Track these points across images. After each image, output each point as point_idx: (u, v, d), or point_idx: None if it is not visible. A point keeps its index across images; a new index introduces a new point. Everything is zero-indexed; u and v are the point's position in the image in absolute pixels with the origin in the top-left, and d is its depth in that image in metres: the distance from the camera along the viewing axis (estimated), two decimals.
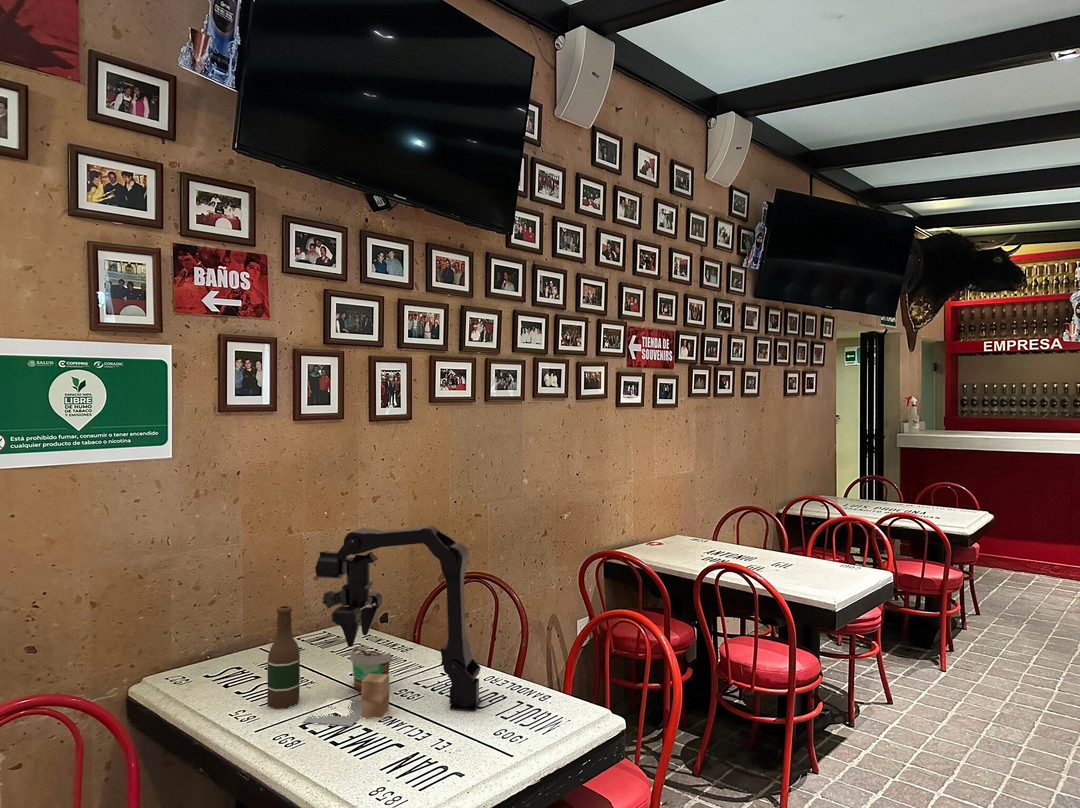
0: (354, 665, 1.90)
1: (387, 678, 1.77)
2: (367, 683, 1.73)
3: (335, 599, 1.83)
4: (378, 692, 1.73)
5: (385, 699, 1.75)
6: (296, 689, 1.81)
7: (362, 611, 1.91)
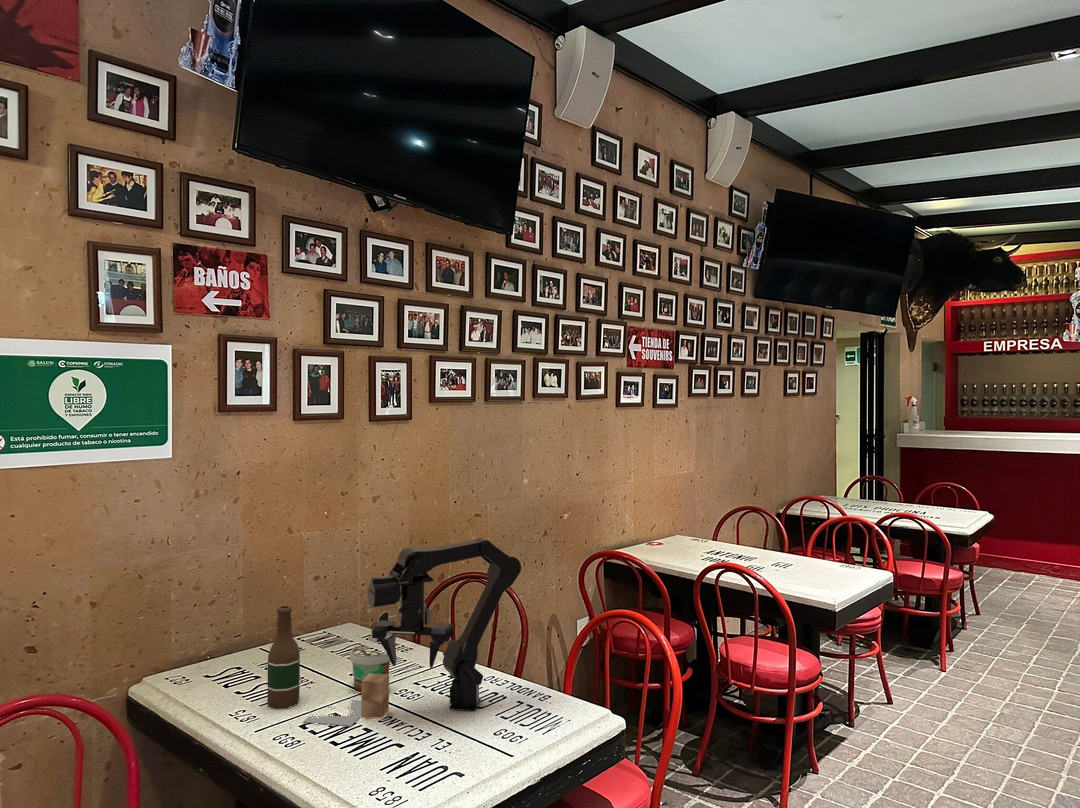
0: (354, 665, 1.90)
1: (387, 678, 1.77)
2: (367, 683, 1.73)
3: None
4: (378, 692, 1.73)
5: (385, 699, 1.75)
6: (296, 689, 1.81)
7: None
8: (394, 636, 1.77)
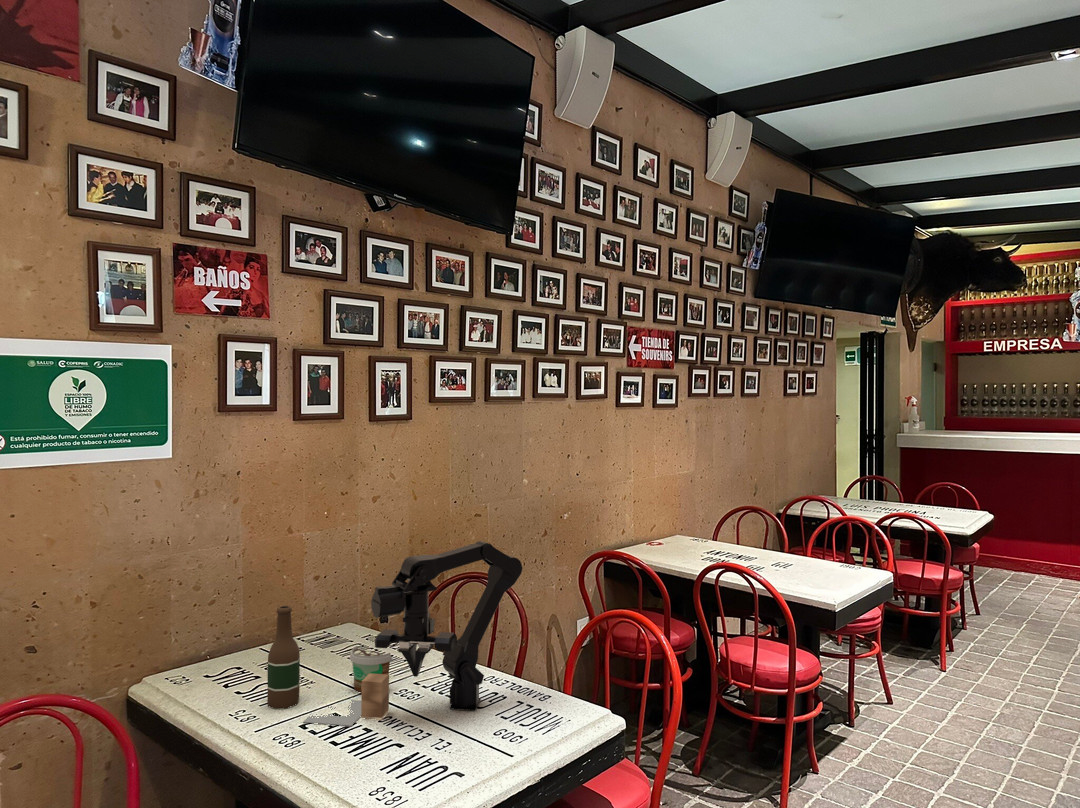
0: (354, 665, 1.90)
1: (387, 678, 1.77)
2: (367, 683, 1.73)
3: None
4: (378, 692, 1.73)
5: (385, 699, 1.75)
6: (296, 689, 1.81)
7: None
8: (415, 646, 1.76)
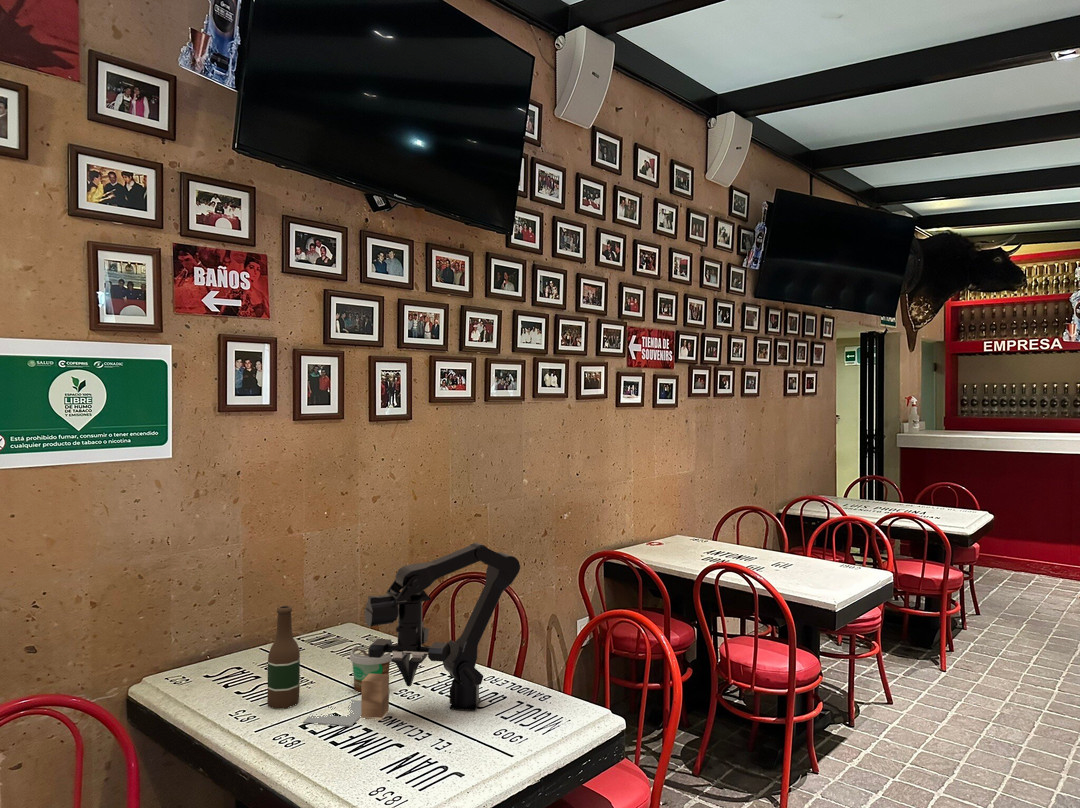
0: (354, 665, 1.90)
1: (387, 678, 1.77)
2: (367, 683, 1.73)
3: None
4: (378, 692, 1.73)
5: (385, 699, 1.75)
6: (296, 689, 1.81)
7: None
8: (408, 656, 1.76)
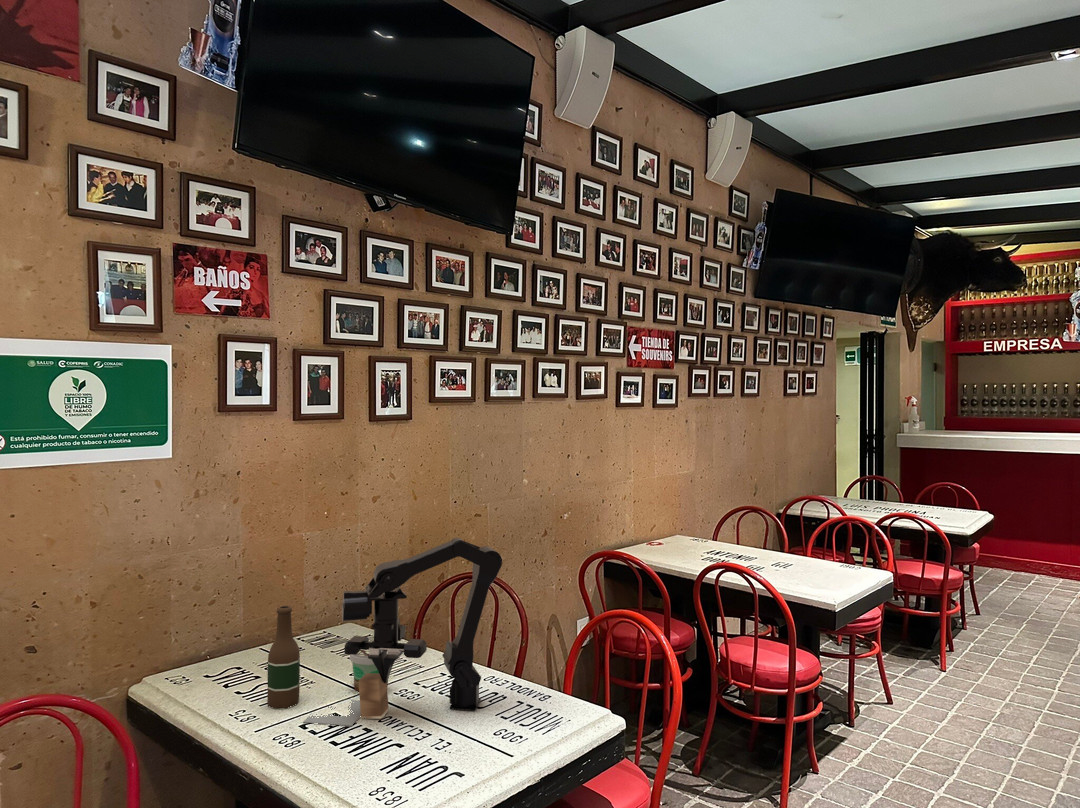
0: (354, 665, 1.90)
1: None
2: (364, 683, 1.74)
3: None
4: (376, 690, 1.73)
5: (383, 697, 1.75)
6: (296, 689, 1.81)
7: None
8: (385, 653, 1.77)
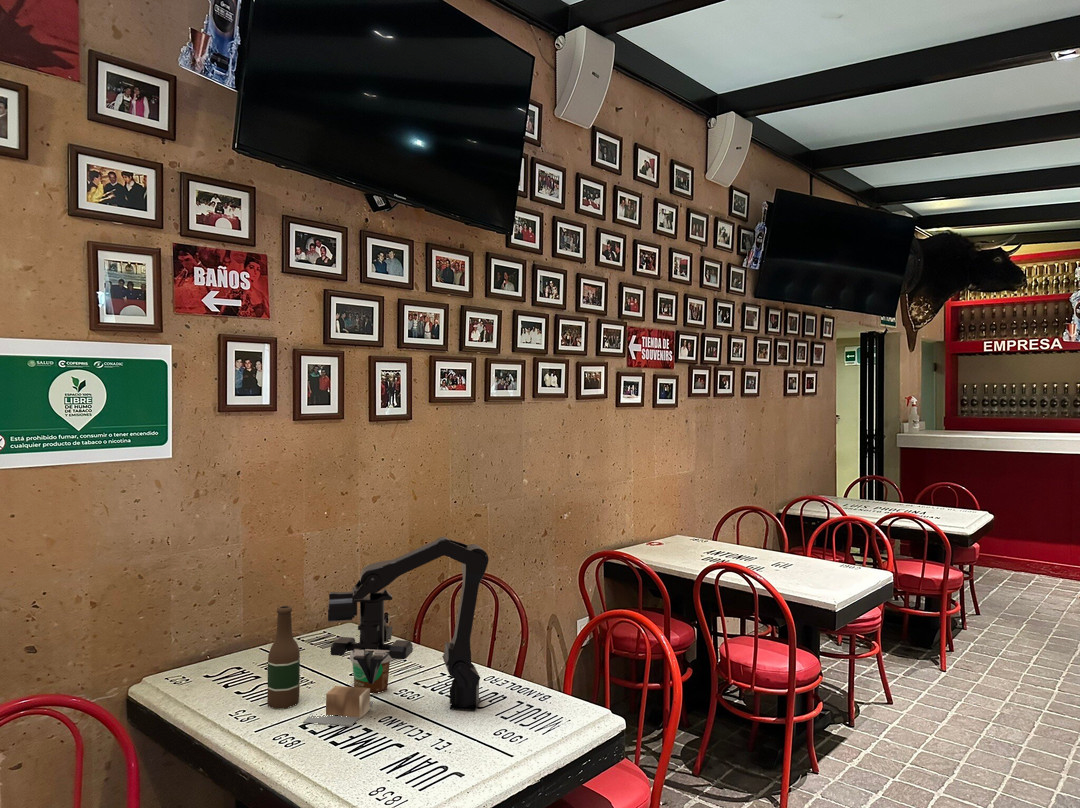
0: (354, 665, 1.90)
1: (335, 687, 1.79)
2: (328, 708, 1.75)
3: None
4: (335, 697, 1.75)
5: (350, 691, 1.77)
6: (296, 689, 1.81)
7: None
8: (371, 654, 1.77)
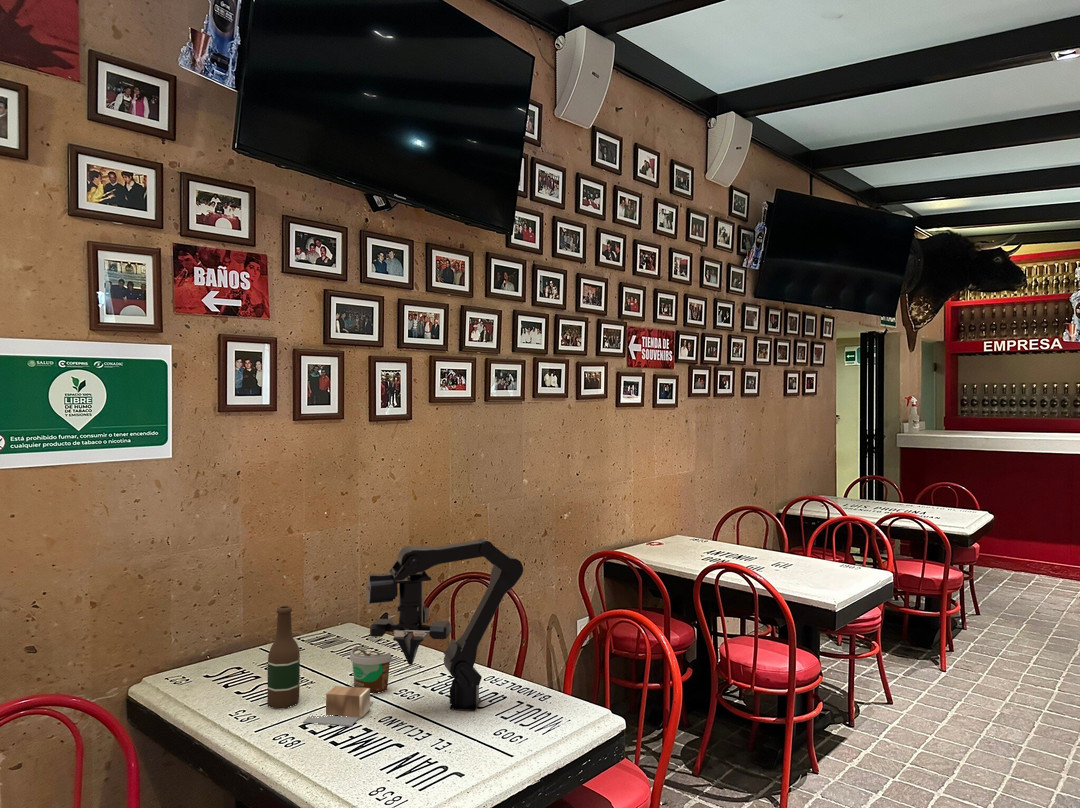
0: (354, 665, 1.90)
1: (335, 687, 1.79)
2: (328, 708, 1.75)
3: None
4: (335, 697, 1.75)
5: (350, 691, 1.77)
6: (296, 689, 1.81)
7: None
8: (409, 635, 1.78)
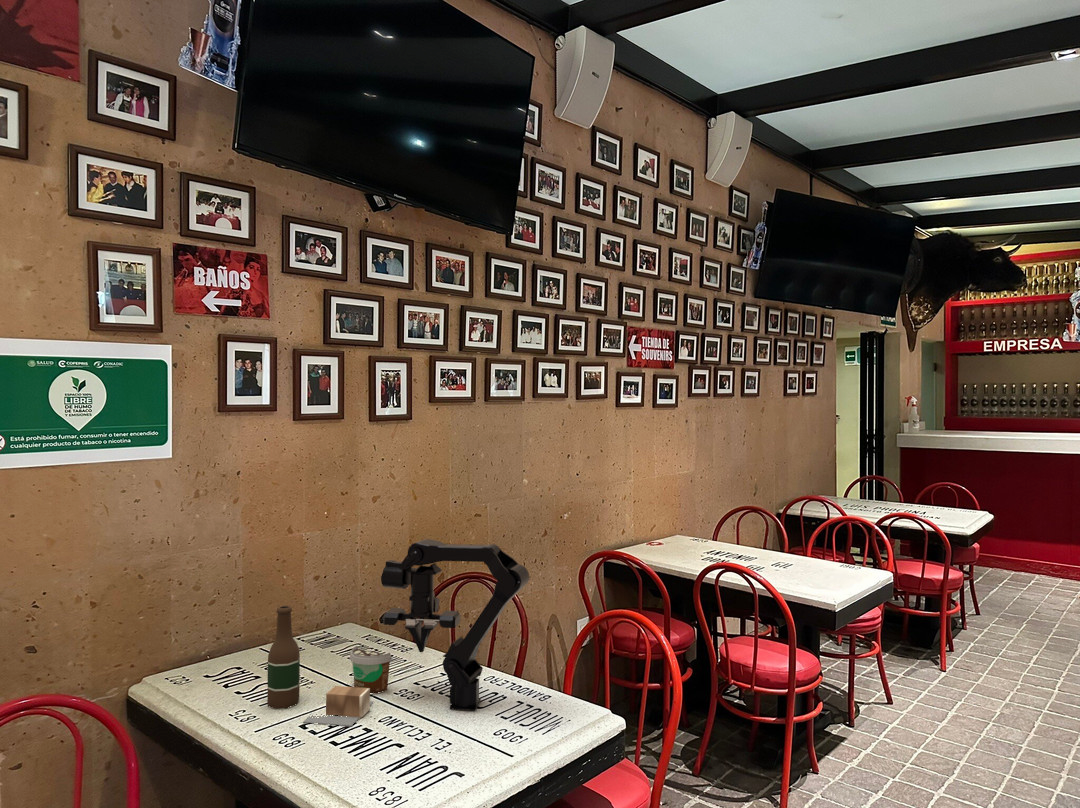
0: (354, 665, 1.90)
1: (335, 687, 1.79)
2: (328, 708, 1.75)
3: None
4: (335, 697, 1.75)
5: (350, 691, 1.77)
6: (296, 689, 1.81)
7: None
8: (420, 624, 1.87)
